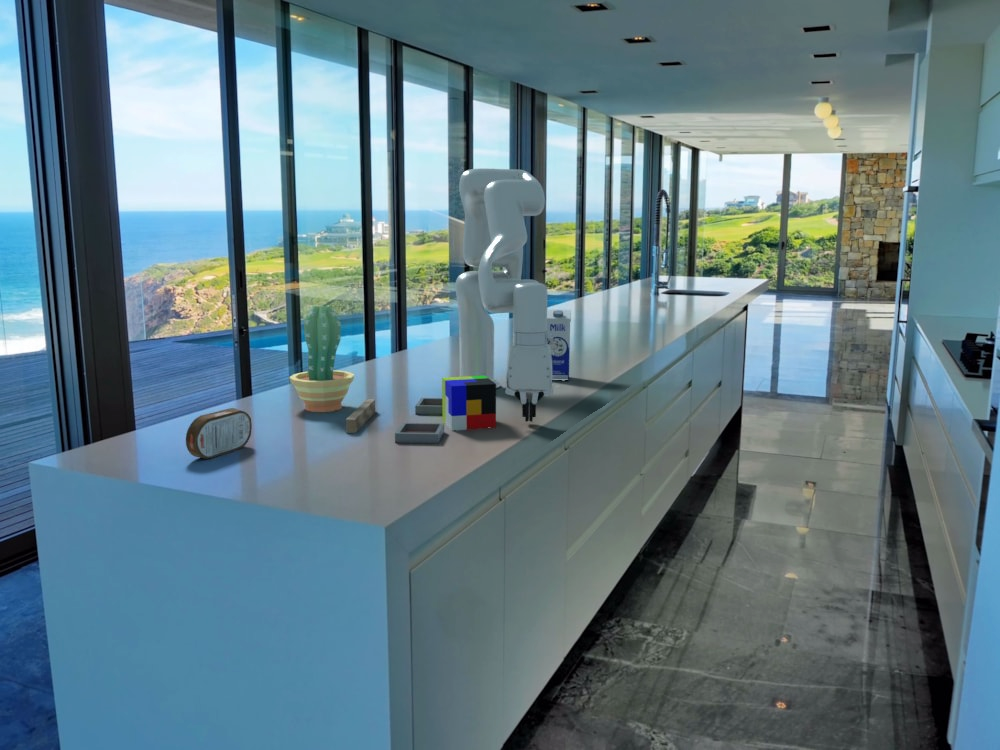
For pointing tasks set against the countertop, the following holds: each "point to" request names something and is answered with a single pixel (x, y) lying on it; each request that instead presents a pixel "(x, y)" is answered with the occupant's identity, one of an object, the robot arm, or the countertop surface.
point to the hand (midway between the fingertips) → (529, 420)
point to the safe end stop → (360, 416)
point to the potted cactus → (322, 363)
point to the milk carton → (559, 341)
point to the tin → (218, 433)
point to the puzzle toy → (468, 402)
